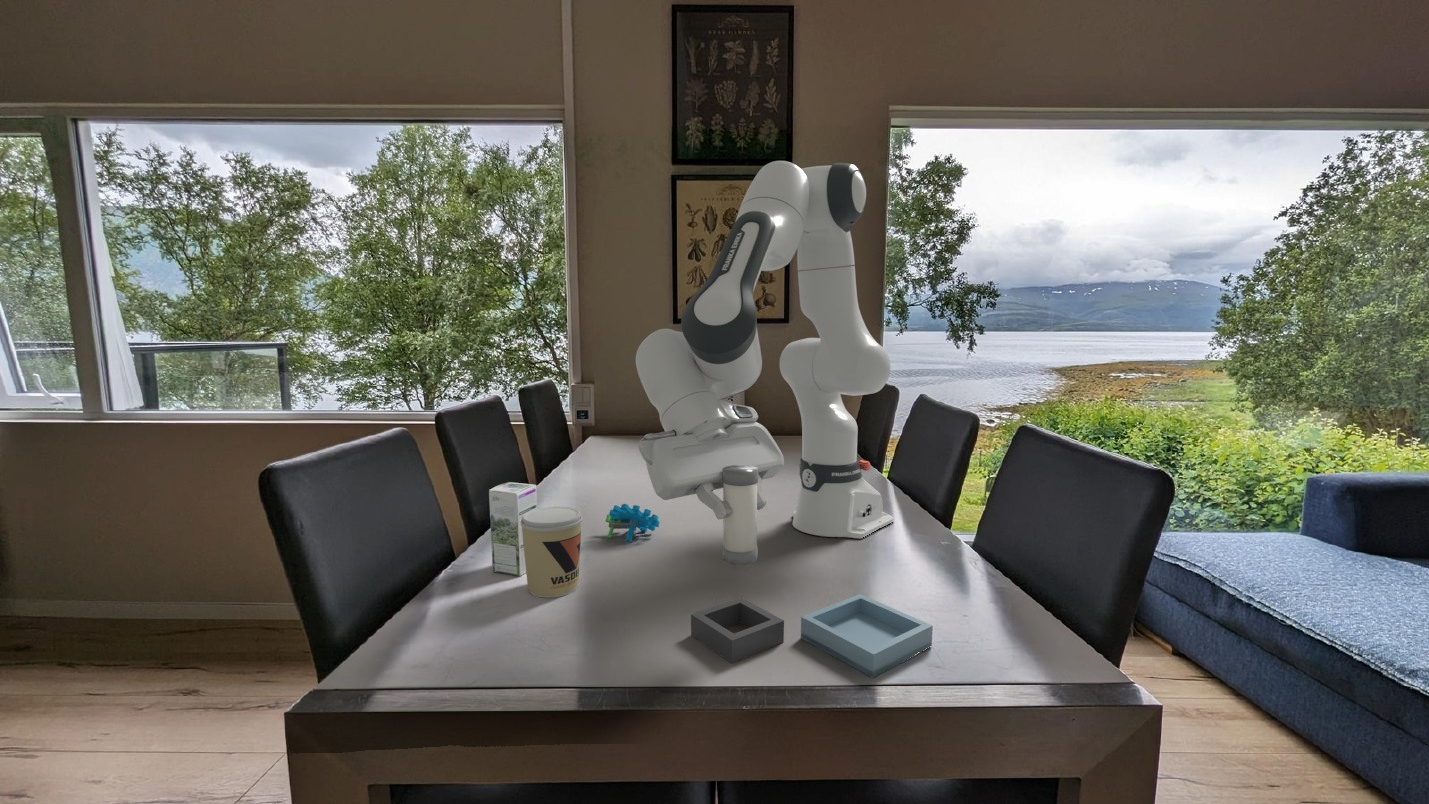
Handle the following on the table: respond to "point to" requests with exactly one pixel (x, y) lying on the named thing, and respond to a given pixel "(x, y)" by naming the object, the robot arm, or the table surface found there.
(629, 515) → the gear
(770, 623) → the socket
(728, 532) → the cylinder
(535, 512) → the cream lidded tub
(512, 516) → the syrup box
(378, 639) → the table surface
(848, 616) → the tray
